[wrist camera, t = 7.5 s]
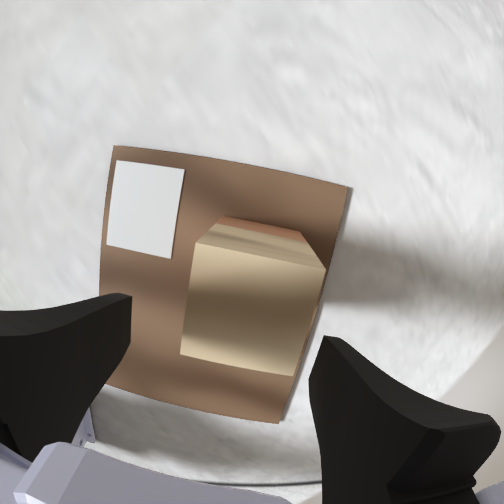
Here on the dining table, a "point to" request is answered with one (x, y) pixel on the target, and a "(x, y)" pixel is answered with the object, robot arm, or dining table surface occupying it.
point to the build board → (180, 263)
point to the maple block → (250, 299)
